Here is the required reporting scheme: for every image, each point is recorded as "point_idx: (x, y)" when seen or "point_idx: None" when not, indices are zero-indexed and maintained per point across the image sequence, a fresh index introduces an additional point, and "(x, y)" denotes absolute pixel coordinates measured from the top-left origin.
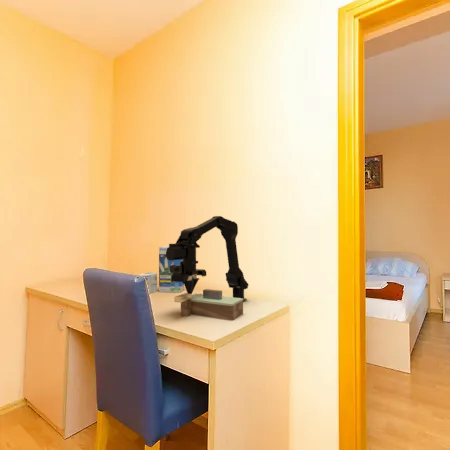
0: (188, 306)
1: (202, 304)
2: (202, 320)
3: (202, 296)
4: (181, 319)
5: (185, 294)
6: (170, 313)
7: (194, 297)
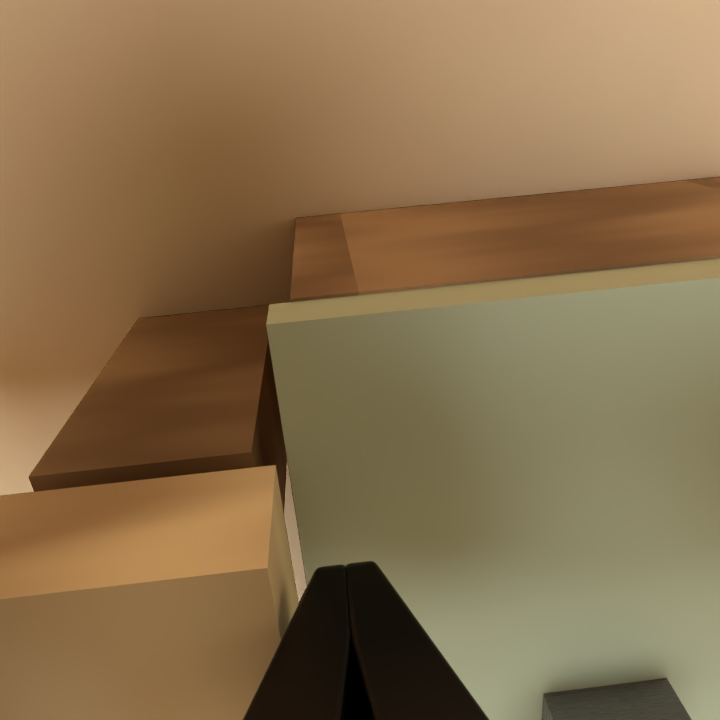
0: None
1: None
2: None
3: (684, 607)
4: (12, 445)
5: (88, 690)
6: (127, 11)
7: (514, 534)
